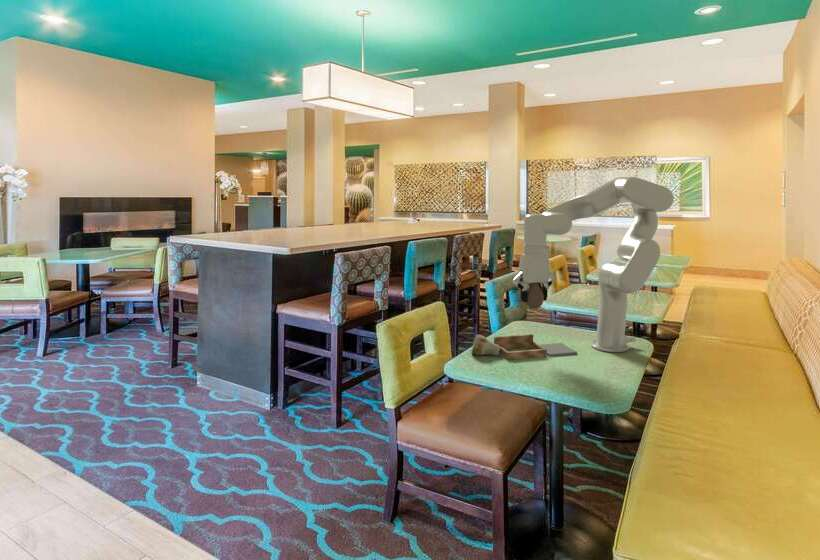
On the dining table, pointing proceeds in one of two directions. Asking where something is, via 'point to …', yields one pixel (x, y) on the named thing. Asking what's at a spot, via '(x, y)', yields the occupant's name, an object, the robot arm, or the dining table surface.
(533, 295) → the vase
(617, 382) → the dining table surface
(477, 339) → the mug
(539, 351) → the wooden frame
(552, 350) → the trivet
